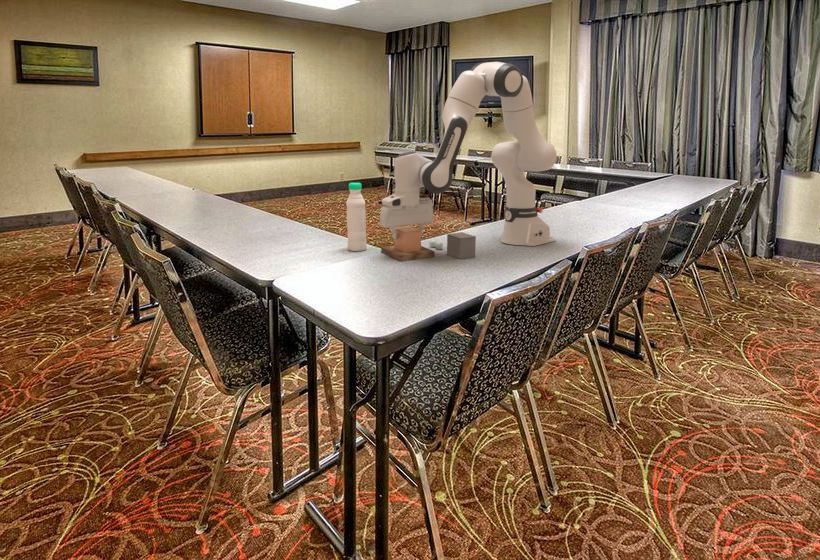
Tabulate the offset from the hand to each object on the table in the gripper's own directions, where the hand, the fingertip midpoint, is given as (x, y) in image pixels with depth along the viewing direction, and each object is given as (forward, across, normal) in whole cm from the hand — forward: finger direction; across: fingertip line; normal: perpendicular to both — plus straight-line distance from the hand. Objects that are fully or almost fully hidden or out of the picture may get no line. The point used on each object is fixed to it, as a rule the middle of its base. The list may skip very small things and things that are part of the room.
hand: (407, 237), depth 187 cm
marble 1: (+5, -13, -5) cm, 15 cm away
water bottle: (+6, +13, -16) cm, 22 cm away
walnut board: (+6, 0, 0) cm, 6 cm away
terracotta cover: (+4, 0, 0) cm, 4 cm away
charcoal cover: (+6, -16, +11) cm, 20 cm away
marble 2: (+6, -13, -1) cm, 14 cm away
